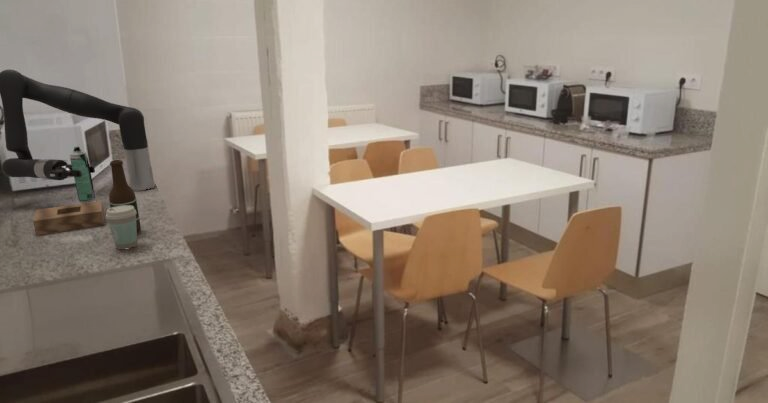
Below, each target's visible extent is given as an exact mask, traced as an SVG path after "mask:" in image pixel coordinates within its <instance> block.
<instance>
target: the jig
mask: <svg viewBox="0 0 768 403" xmlns="http://www.w3.org/2000/svg"><path fill="white" fill-rule="evenodd" d="M32 223H33V227H34V231H35V236H36V235H38V236H44V235H49V233H51V234H55V233H54V232H57V233H62V232H61V231H63V232H68V230H70V231H74V230H73V229H76V230H80V229H81V228H83V229H88V228H87V227H89V228H93V226H95V227H100V226H99V225H102V226H105V212H104V207H103V201H102V200H98V201H96V200H95V201H92V202H87V203H75V204H69V205H62V206H61V205H60V206H54V207H48V208H46V207H45V208H41V209H36V212H35V214H34V219H32ZM43 234H44V235H43Z"/></svg>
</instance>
